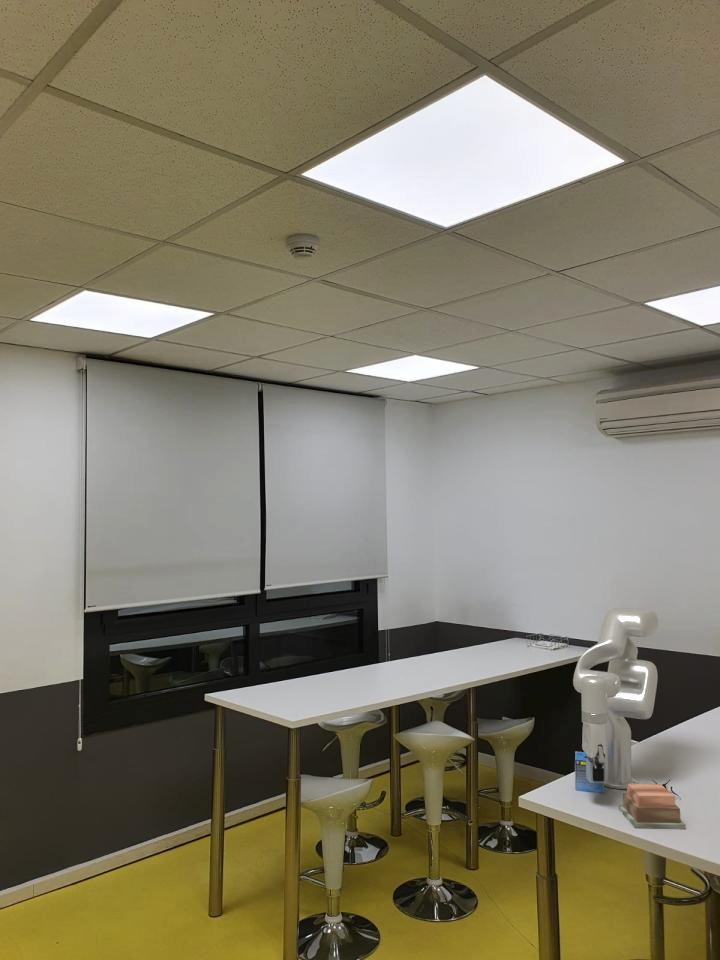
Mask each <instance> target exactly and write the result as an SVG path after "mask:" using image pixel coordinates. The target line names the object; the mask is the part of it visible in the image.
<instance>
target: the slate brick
mask: <svg viewBox="0 0 720 960" xmlns="http://www.w3.org/2000/svg"><path fill="white" fill-rule="evenodd" d="M585 758H586V778H587V779H588V781H589V782H590V783H605V762H604V781H593V767H594V764H593V758H587V757H585ZM598 760H599V759H596V762H597V761H598Z"/></svg>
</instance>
